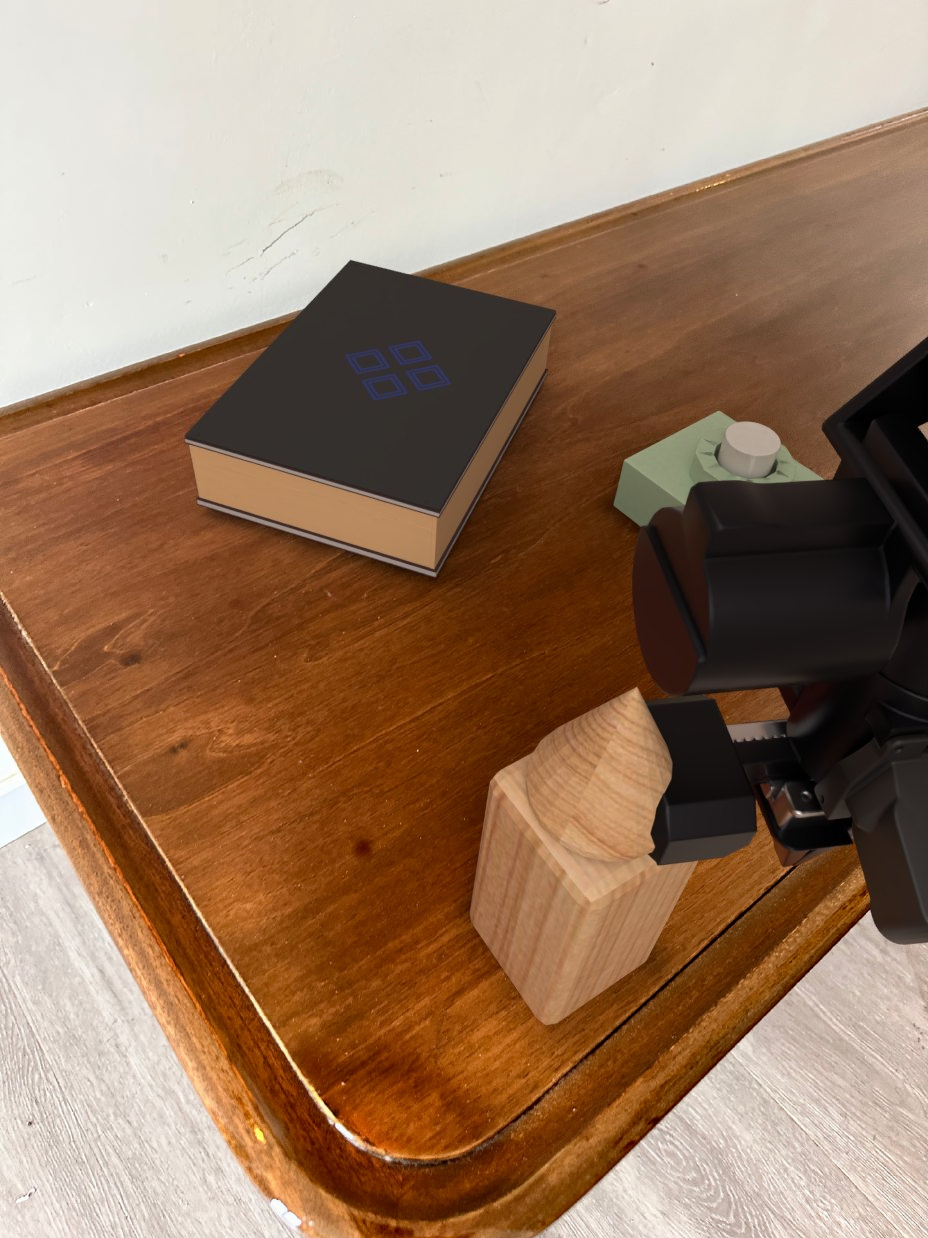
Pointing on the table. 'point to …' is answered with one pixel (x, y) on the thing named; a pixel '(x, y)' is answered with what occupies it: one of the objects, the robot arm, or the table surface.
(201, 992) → the table surface
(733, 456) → the beige button cap
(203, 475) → the book
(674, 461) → the button base
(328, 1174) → the table surface
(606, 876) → the decorative item
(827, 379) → the table surface
